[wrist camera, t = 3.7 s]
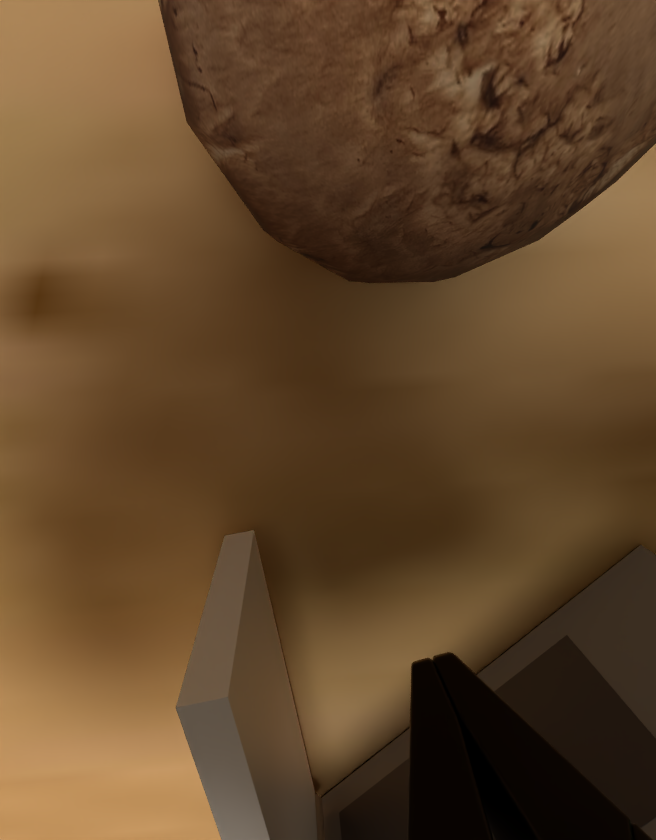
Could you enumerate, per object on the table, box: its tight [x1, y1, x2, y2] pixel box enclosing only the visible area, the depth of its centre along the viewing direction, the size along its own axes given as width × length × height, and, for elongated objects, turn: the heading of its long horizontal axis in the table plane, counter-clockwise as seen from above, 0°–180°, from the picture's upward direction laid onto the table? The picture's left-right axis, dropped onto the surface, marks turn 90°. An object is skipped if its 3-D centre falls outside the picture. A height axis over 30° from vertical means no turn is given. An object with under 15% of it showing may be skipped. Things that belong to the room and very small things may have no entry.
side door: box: [176, 530, 325, 840], centre depth 9 cm, size 10×1×4 cm, turn 9°
